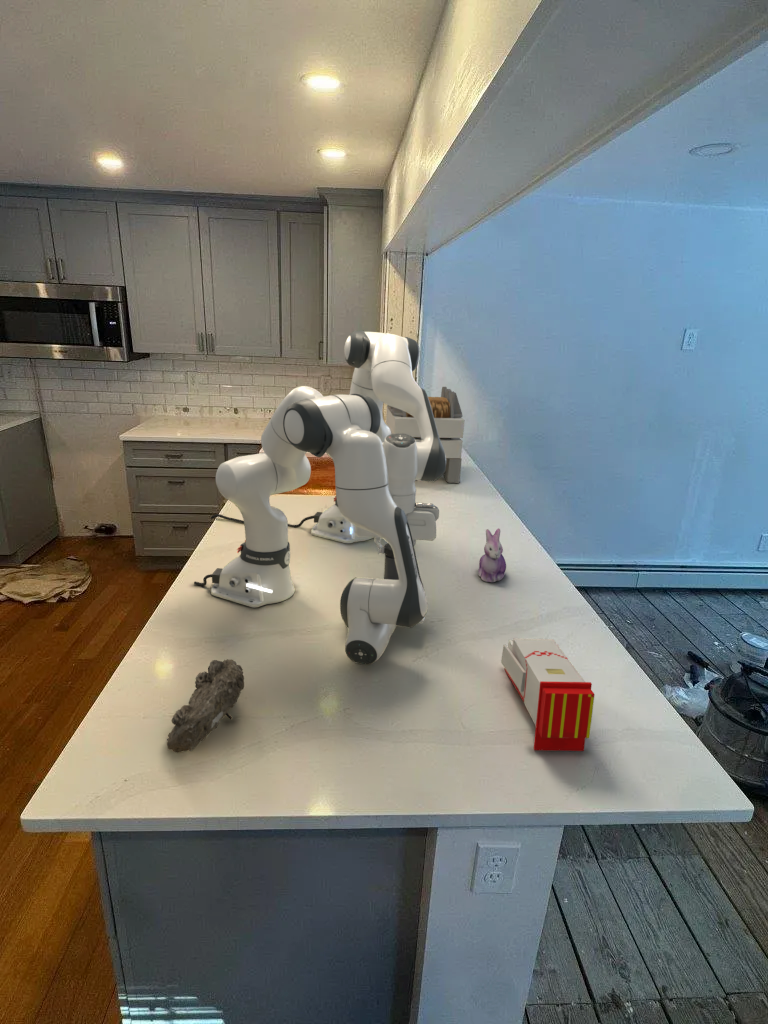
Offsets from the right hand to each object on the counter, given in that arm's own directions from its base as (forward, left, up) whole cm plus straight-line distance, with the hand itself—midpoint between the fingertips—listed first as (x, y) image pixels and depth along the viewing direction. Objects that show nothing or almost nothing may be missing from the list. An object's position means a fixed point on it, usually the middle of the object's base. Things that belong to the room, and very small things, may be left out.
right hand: (394, 553), depth 143 cm
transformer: (-22, +134, -17) cm, 136 cm away
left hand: (0, +1, -11) cm, 11 cm away
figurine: (+23, +31, -17) cm, 42 cm away
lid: (0, 0, +2) cm, 2 cm away
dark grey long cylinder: (0, 0, -17) cm, 17 cm away
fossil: (-22, -50, -17) cm, 57 cm away
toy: (+38, -25, -17) cm, 48 cm away
